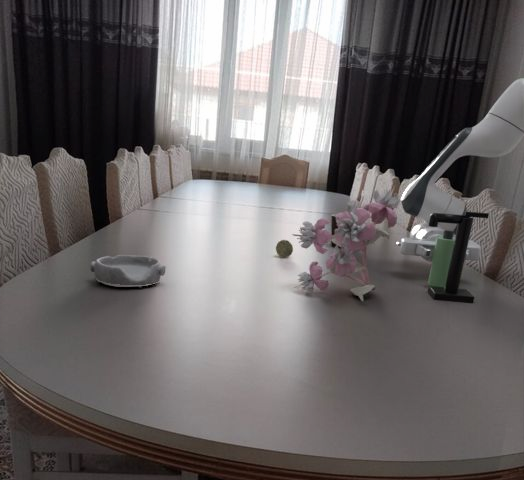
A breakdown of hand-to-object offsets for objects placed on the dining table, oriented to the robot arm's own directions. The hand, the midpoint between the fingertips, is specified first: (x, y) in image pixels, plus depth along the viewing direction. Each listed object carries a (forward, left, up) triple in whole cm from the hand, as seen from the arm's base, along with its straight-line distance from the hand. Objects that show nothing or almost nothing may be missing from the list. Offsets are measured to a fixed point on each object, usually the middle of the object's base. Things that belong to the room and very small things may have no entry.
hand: (446, 254), depth 129 cm
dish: (+74, +22, -8) cm, 78 cm away
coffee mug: (+21, -46, -8) cm, 51 cm away
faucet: (+2, +10, -8) cm, 13 cm away
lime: (+41, -20, -8) cm, 46 cm away
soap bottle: (0, -1, -8) cm, 8 cm away
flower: (+28, +17, -8) cm, 34 cm away
